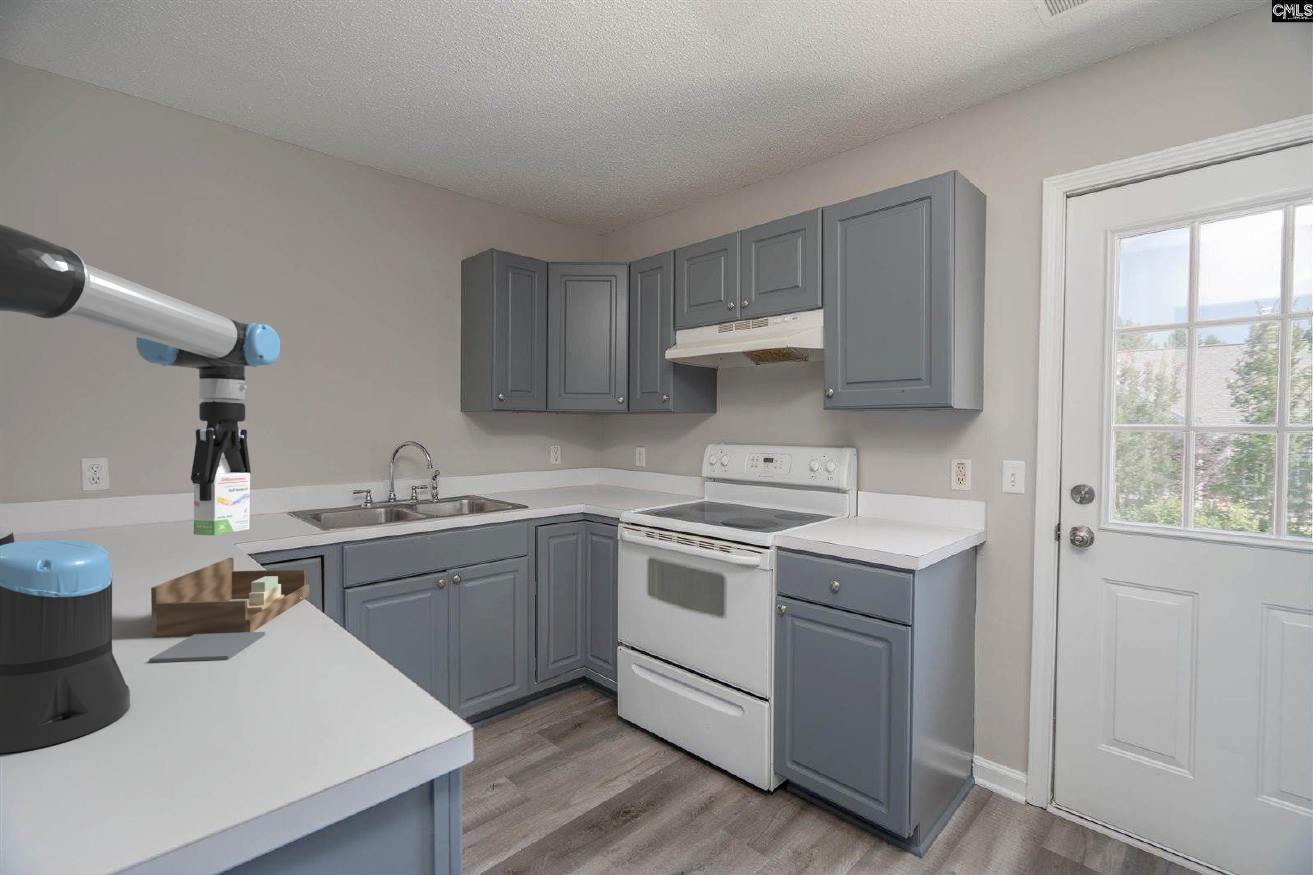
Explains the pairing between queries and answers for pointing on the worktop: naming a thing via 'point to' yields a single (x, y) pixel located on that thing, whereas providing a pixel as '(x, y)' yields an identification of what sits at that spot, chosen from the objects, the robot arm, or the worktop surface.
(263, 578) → the offcut top
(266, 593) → the block
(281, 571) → the rack
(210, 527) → the ink box
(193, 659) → the mat
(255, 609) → the offcut bottom
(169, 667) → the worktop surface
